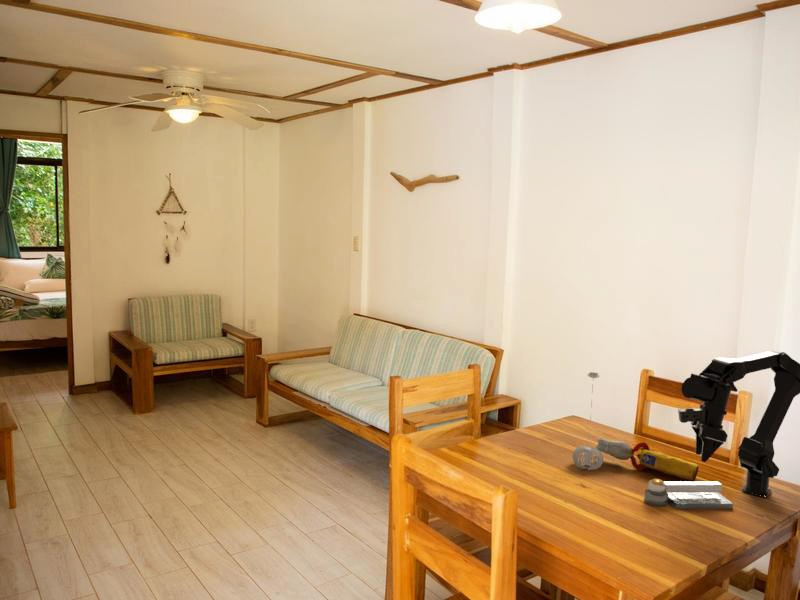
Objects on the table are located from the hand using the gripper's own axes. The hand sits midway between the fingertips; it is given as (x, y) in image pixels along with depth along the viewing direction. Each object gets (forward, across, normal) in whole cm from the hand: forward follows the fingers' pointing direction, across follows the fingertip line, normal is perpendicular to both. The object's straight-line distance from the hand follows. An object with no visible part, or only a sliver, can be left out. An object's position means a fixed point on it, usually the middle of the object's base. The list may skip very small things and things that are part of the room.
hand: (700, 457), depth 181 cm
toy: (+12, -21, -10) cm, 26 cm away
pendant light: (+16, -16, -27) cm, 35 cm away
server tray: (+12, 0, +2) cm, 12 cm away
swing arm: (+10, +2, -2) cm, 10 cm away
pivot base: (+15, +4, -9) cm, 17 cm away
